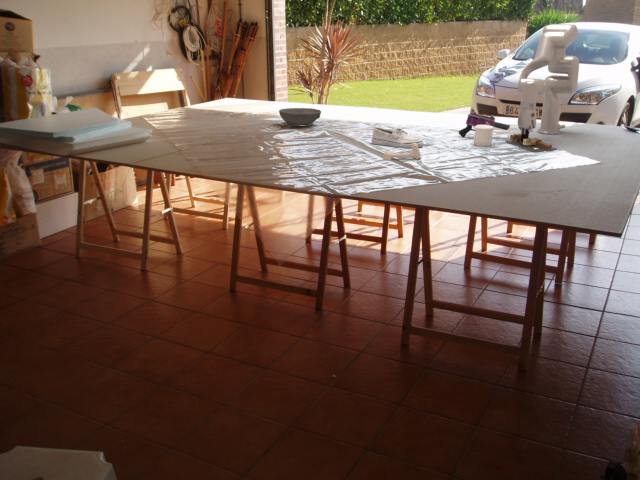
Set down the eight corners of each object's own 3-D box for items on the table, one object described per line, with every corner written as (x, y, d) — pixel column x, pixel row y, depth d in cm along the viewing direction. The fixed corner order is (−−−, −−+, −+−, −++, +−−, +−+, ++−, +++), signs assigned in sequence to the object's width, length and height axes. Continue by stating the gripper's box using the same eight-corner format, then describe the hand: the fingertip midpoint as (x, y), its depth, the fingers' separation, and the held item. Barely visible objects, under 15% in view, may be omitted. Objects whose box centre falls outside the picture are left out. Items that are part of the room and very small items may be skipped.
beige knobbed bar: (386, 168, 288) (380, 149, 285) (420, 155, 286) (414, 136, 283) (387, 170, 285) (381, 151, 281) (422, 157, 283) (416, 138, 279)
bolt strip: (526, 140, 319) (526, 138, 318) (557, 150, 296) (557, 148, 295) (505, 142, 316) (505, 140, 315) (534, 152, 292) (534, 150, 292)
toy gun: (503, 147, 326) (512, 121, 320) (457, 136, 329) (465, 110, 323) (502, 146, 329) (511, 120, 323) (457, 135, 332) (465, 109, 326)
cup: (481, 147, 305) (483, 128, 301) (468, 144, 313) (470, 125, 310) (495, 145, 309) (497, 126, 306) (482, 142, 317) (484, 124, 314)
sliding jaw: (538, 143, 306) (539, 136, 305) (542, 144, 303) (542, 137, 302) (522, 144, 303) (523, 138, 302) (525, 145, 301) (526, 139, 299)
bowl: (278, 123, 383) (278, 107, 379) (318, 121, 385) (318, 106, 382) (280, 130, 359) (279, 114, 355) (323, 128, 361) (323, 112, 358)
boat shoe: (420, 149, 304) (420, 131, 300) (367, 145, 315) (367, 128, 311) (425, 145, 313) (426, 127, 309) (374, 142, 324) (374, 124, 320)
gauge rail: (523, 140, 318) (524, 132, 317) (553, 150, 295) (554, 141, 293) (507, 142, 316) (508, 133, 314) (536, 152, 293) (537, 143, 291)
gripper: (543, 107, 294) (539, 143, 301) (526, 103, 308) (522, 138, 315) (530, 108, 293) (526, 144, 299) (513, 104, 306) (509, 139, 313)
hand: (524, 141), depth 307 cm, fingers closed
